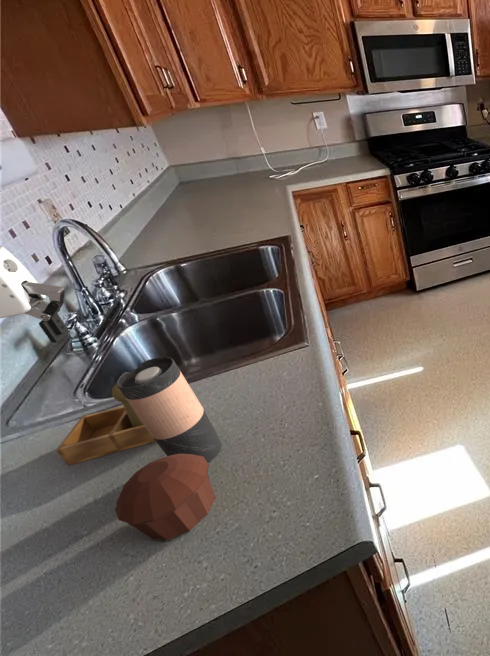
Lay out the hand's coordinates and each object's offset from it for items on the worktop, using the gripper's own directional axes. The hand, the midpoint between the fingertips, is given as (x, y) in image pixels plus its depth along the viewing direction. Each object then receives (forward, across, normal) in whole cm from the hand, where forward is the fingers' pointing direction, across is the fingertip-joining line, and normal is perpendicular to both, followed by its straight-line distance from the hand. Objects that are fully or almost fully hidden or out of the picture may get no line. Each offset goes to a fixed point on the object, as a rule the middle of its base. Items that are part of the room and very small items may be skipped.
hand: (23, 345), depth 66 cm
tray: (+25, -3, -4) cm, 26 cm away
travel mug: (+25, -18, +8) cm, 32 cm away
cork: (+25, -7, -4) cm, 26 cm away
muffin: (+25, -19, +20) cm, 37 cm away
